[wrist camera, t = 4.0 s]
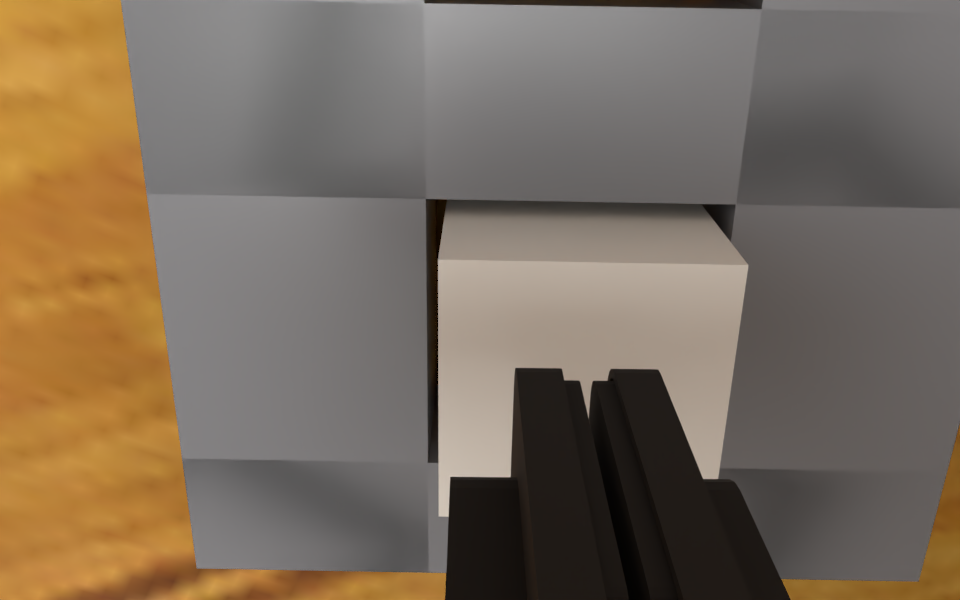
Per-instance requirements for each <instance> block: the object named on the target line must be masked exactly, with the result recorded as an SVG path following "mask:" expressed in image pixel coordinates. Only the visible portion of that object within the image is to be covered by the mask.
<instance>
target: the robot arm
mask: <svg viewBox="0 0 960 600" xmlns="http://www.w3.org/2000/svg"><path fill="white" fill-rule="evenodd" d="M445 600H790V598H789V596H788V593H787V591H786V589H785V587H784V585H783V582H782V580H781V578H780V576H779V574H778V572H777V569H776V567H775V565H774V563H773V561H772V558H771V556H770V554H769V552H768V550H767V548H766V545H765V543H764V541H763V539H762V537H761V534H760V532H759V530H758V528H757V526H756V524H755V521H754V519H753V517H752V515H751V513H750V511H749V508H748V506H747V504H746V502H745V500H744V497H743V495H742V493H741V491H740V489H739V488H738V486H737V484H736V483H735V482H734V481H732V480H730V479H703V477H702V475H701V472H700V470H699V468H698V465H697V463H696V460H695V458H694V455H693V453H692V450H691V448H690V445H689V443H688V440H687V438H686V435H685V433H684V430H683V428H682V425H681V423H680V420H679V418H678V415H677V413H676V410H675V408H674V406H673V403H672V401H671V398H670V396H669V393H668V391H667V388H666V386H665V383H664V381H663V378H662V376H661V373H660V372H659V370H658V369H611V370H610V372H609V375H608V381H593V382H592V386H591V394H590V407H589V418H588V414H587V409H586V405H585V401H584V396H583V392H582V387H581V383H580V381H579V380H564V376H563V372H562V369H561V368H515V375H514V397H513V425H512V452H511V477H450V493H449V519H448V545H447V570H446V596H445Z"/></svg>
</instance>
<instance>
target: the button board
mask: <svg viewBox="0 0 960 600" xmlns="http://www.w3.org/2000/svg"><path fill="white" fill-rule="evenodd" d="M121 5H122V12H123V20H124V27H125V35H126V42H127V50H128V57H129V65H130V72H131V79H132V87H133V94H134V102H135V109H136V117H137V124H138V132H139V139H140V147H141V154H142V162H143V169H144V177H145V184H146V192H147V199H148V207H149V214H150V222H151V229H152V237H153V244H154V252H155V259H156V267H157V274H158V281H159V289H160V296H161V304H162V311H163V319H164V326H165V334H166V341H167V349H168V356H169V364H170V371H171V379H172V386H173V394H174V401H175V409H176V416H177V424H178V431H179V439H180V446H181V454H182V461H183V469H184V476H185V483H186V491H187V498H188V506H189V513H190V521H191V528H192V536H193V543H194V551H195V558H196V566H197V568H207V569H262V570H316V571H371V572H426V573H446V570H447V545H448V519H449V517H439V474H438V385H437V373H436V199H452V200H508V201H564V202H620V203H676V204H701V205H702V206H703V207H704V208H705V210H706V211H707V212H708V214H709V215H710V216H711V217H712V219H713V220H714V221H715V223H716V224H717V225H718V226H719V228H720V229H721V230H722V232H723V233H724V234H725V235H726V237H727V238H728V239H729V241H730V242H731V243H732V244H733V246H734V247H735V248H736V250H737V251H738V252H739V254H740V255H741V256H742V257H743V259H744V260H745V261H746V263H747V264H748V272H747V279H746V286H745V293H744V300H743V307H742V314H741V322H740V329H739V336H738V343H737V350H736V357H735V364H734V371H733V378H732V385H731V392H730V399H729V406H728V413H727V420H726V427H725V434H724V441H723V448H722V455H721V462H720V469H719V476H718V479H730V480H732V481H734V482H735V483H736V484H737V486H738V488H739V489H740V491H741V493H742V495H743V497H744V500H745V502H746V504H747V506H748V508H749V511H750V513H751V515H752V517H753V519H754V521H755V524H756V526H757V528H758V530H759V532H760V534H761V537H762V539H763V541H764V543H765V545H766V548H767V550H768V552H769V554H770V556H771V558H772V561H773V563H774V565H775V567H776V569H777V572H778V574H779V576H780V578H781V579H810V580H864V581H919V578H920V574H921V570H922V566H923V563H924V559H925V555H926V551H927V547H928V543H929V539H930V536H931V532H932V528H933V524H934V520H935V516H936V512H937V509H938V505H939V501H940V497H941V493H942V489H943V486H944V482H945V478H946V474H947V470H948V466H949V462H950V459H951V455H952V451H953V447H954V443H955V439H956V436H957V432H958V428H959V424H960V0H121Z"/></svg>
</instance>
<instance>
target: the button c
mask: <svg viewBox="0 0 960 600" xmlns="http://www.w3.org/2000/svg"><path fill="white" fill-rule="evenodd" d="M747 272H748V264H747V263H746V261H745V260H744V259H743V257H742V256H741V255H740V254H739V252H738V251H737V250H736V248H735V247H734V246H733V244H732V243H731V242H730V241H729V239H728V238H727V237H726V235H725V234H724V233H723V232H722V230H721V229H720V228H719V226H718V225H717V224H716V223H715V221H714V220H713V219H712V217H711V216H710V215H709V214H708V212H707V211H706V210H705V208H704V207H703V206H702V205H701V204H676V203H620V202H564V201H508V200H452V199H447V203H446V209H445V216H444V223H443V230H442V236H441V243H440V250H439V256H438V474H439V517H449V493H450V477H511V452H512V425H513V397H514V375H515V368H561V369H562V372H563V376H564V380H579V381H580V383H581V387H582V392H583V396H584V401H585V405H586V409H587V414H588V418H589V407H590V394H591V386H592V382H593V381H608V375H609V372H610V370H611V369H658V370H659V372H660V373H661V376H662V378H663V381H664V383H665V386H666V388H667V391H668V393H669V396H670V398H671V401H672V403H673V406H674V408H675V410H676V413H677V415H678V418H679V420H680V423H681V425H682V428H683V430H684V433H685V435H686V438H687V440H688V443H689V445H690V448H691V450H692V453H693V455H694V458H695V460H696V463H697V465H698V468H699V470H700V472H701V475H702V477H703V479H718V476H719V469H720V462H721V455H722V448H723V441H724V434H725V427H726V420H727V413H728V406H729V399H730V392H731V385H732V378H733V371H734V364H735V357H736V350H737V343H738V336H739V329H740V322H741V314H742V307H743V300H744V293H745V286H746V279H747Z"/></svg>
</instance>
